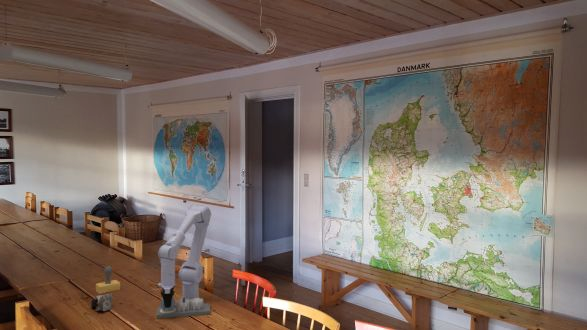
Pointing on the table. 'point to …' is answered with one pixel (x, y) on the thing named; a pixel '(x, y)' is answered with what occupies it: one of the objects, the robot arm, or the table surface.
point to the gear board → (187, 313)
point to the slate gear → (170, 306)
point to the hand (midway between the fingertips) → (167, 304)
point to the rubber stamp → (107, 283)
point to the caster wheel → (102, 302)
